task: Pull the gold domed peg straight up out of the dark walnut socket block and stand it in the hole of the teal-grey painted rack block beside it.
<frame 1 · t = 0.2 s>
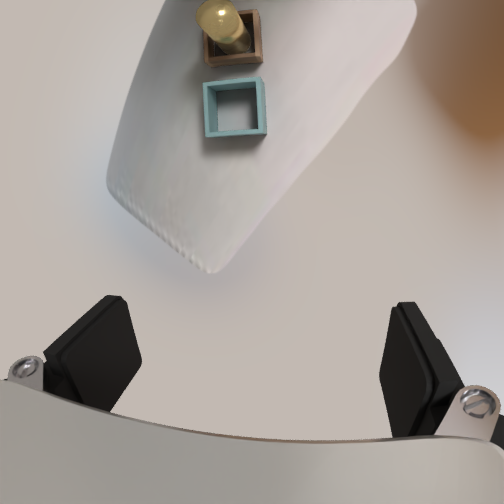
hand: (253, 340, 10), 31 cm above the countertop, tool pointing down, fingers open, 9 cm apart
socket block: (235, 41, 33), on the countertop
gold domed peg: (226, 29, 28), in the socket block
rack block: (239, 110, 36), on the countertop
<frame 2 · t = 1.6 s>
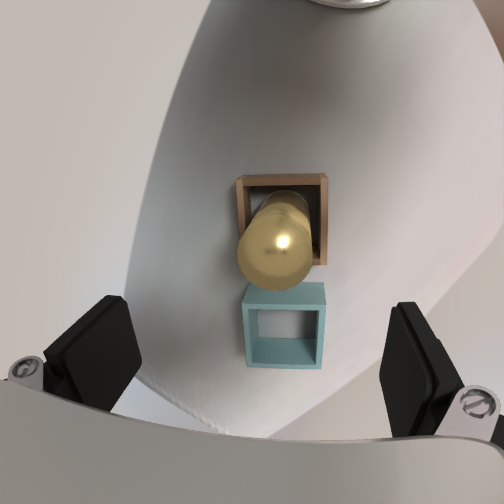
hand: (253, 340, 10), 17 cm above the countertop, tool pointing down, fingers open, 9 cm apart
socket block: (284, 213, 26), on the countertop
gold domed peg: (280, 230, 21), in the socket block
rack block: (286, 314, 29), on the countertop
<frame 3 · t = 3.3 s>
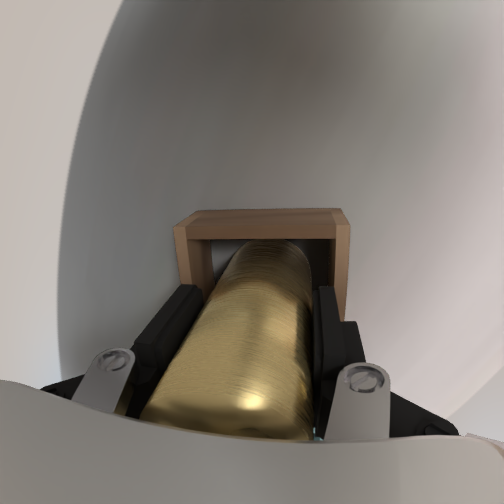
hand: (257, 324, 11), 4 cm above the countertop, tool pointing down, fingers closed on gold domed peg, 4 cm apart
socket block: (269, 276, 15), on the countertop
gold domed peg: (254, 334, 11), in the socket block, touching gripper
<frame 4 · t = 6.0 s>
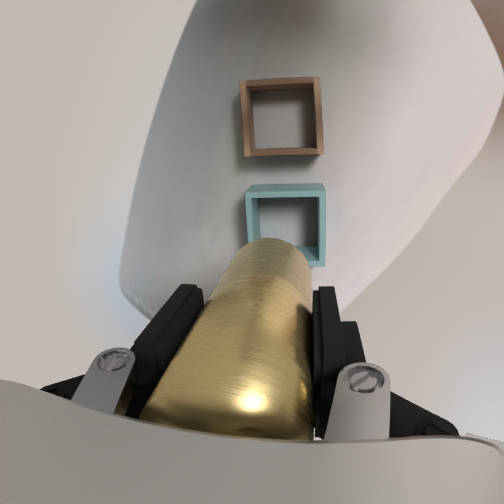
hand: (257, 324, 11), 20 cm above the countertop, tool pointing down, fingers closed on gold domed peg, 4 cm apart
socket block: (283, 118, 27), on the countertop
gold domed peg: (254, 335, 11), point 21 cm above the countertop, touching gripper
rack block: (288, 218, 30), on the countertop
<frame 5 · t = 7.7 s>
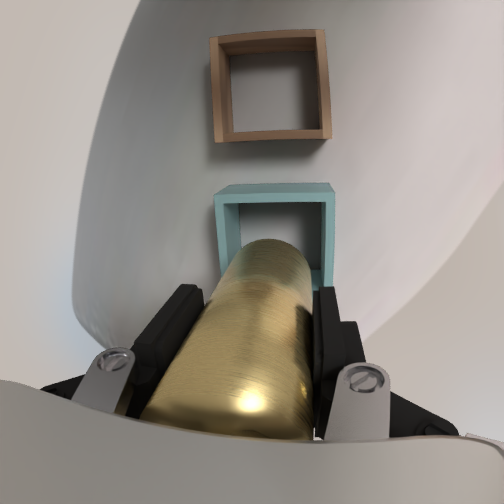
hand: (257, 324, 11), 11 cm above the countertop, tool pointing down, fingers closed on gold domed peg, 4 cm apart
socket block: (274, 91, 18), on the countertop
gold domed peg: (254, 336, 11), point 12 cm above the countertop, touching gripper
rack block: (280, 231, 22), on the countertop
when the fingers open (6 cm above the countertop, at t = 9.0 s): gold domed peg drops 1 cm, resting in rack block.
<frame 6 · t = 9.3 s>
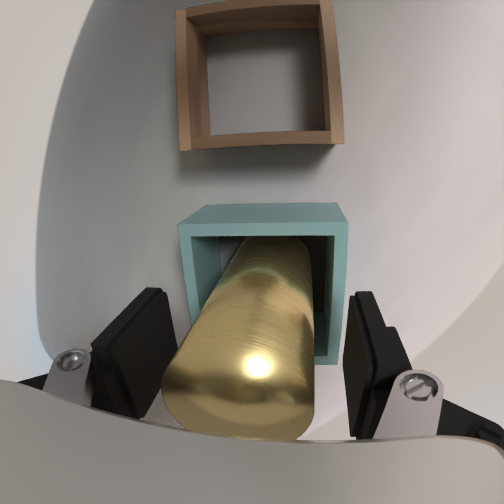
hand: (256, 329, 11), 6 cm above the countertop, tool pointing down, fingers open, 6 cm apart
socket block: (263, 80, 14), on the countertop
gold domed peg: (260, 312, 12), in the rack block
rack block: (272, 265, 17), on the countertop
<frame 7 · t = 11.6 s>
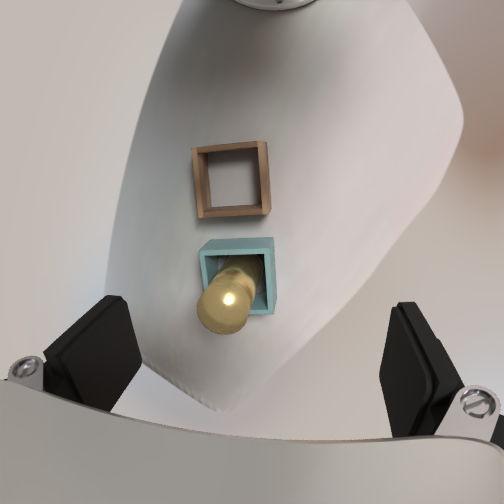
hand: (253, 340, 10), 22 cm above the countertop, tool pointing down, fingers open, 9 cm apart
socket block: (235, 177, 31), on the countertop
gold domed peg: (234, 287, 29), in the rack block
rack block: (244, 268, 33), on the countertop
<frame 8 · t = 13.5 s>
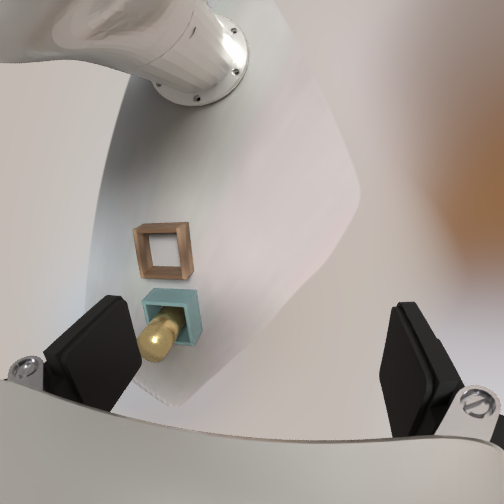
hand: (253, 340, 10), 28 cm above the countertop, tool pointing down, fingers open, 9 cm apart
socket block: (168, 246, 41), on the countertop
gold domed peg: (165, 327, 40), in the rack block
rack block: (178, 309, 44), on the countertop
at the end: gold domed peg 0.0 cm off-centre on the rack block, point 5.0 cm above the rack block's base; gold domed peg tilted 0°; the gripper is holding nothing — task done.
